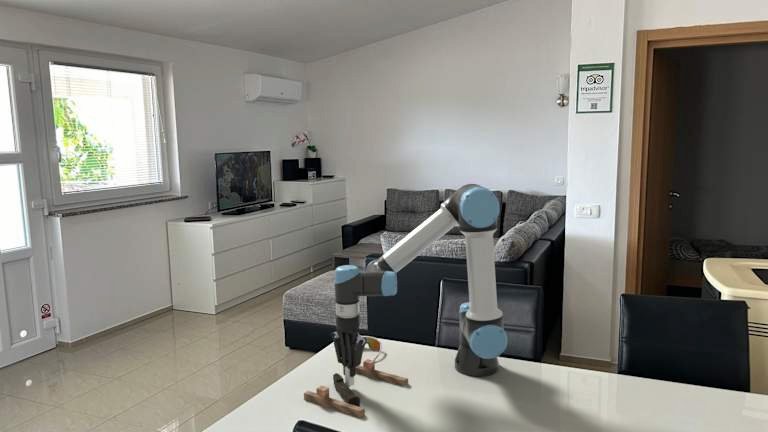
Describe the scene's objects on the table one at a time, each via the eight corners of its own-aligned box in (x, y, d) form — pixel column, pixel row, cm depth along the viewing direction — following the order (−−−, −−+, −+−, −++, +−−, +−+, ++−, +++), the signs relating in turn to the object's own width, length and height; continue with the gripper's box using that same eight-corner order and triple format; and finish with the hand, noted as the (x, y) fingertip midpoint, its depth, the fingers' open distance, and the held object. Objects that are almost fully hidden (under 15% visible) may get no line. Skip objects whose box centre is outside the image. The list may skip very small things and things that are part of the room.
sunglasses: (385, 348, 218) (385, 337, 217) (376, 370, 204) (375, 357, 203) (350, 346, 222) (349, 334, 220) (338, 367, 208) (337, 354, 206)
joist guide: (408, 384, 187) (408, 369, 187) (360, 418, 166) (359, 401, 165) (355, 369, 200) (354, 355, 199) (303, 399, 178) (302, 384, 177)
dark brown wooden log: (361, 408, 172) (360, 393, 172) (348, 410, 171) (347, 396, 170) (342, 383, 190) (342, 369, 189) (331, 385, 188) (330, 371, 188)
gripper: (324, 314, 181) (326, 384, 185) (357, 321, 174) (359, 394, 177) (339, 308, 187) (341, 376, 191) (371, 314, 180) (373, 385, 184)
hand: (349, 385), depth 184 cm, fingers closed
